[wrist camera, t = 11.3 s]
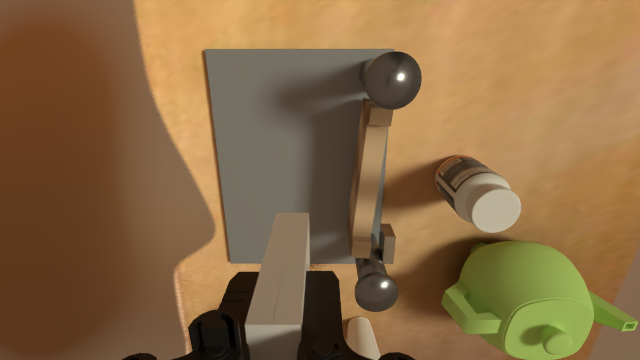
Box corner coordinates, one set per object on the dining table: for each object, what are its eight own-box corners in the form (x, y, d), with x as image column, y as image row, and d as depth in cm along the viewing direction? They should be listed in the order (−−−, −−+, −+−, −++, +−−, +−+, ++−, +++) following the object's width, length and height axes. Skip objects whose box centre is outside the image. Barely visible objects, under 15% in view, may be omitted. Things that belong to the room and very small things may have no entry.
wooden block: (362, 97, 35) (371, 107, 29) (381, 99, 35) (393, 108, 29) (346, 227, 41) (350, 257, 35) (362, 228, 41) (369, 258, 35)
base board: (206, 49, 35) (204, 49, 34) (393, 49, 35) (394, 49, 34) (231, 260, 45) (230, 263, 44) (377, 261, 45) (377, 263, 44)
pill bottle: (477, 195, 41) (523, 236, 32) (431, 198, 41) (463, 240, 32) (482, 151, 39) (532, 182, 30) (434, 155, 39) (469, 186, 30)
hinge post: (353, 52, 35) (367, 51, 25) (394, 52, 35) (424, 51, 25) (352, 94, 36) (364, 109, 26) (391, 94, 36) (418, 109, 26)
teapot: (585, 229, 43) (686, 296, 31) (556, 309, 48) (633, 393, 36) (434, 225, 43) (477, 291, 31) (420, 306, 47) (452, 389, 36)
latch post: (348, 210, 42) (357, 259, 32) (384, 210, 42) (405, 260, 32) (346, 252, 44) (354, 311, 34) (381, 252, 44) (399, 311, 34)
